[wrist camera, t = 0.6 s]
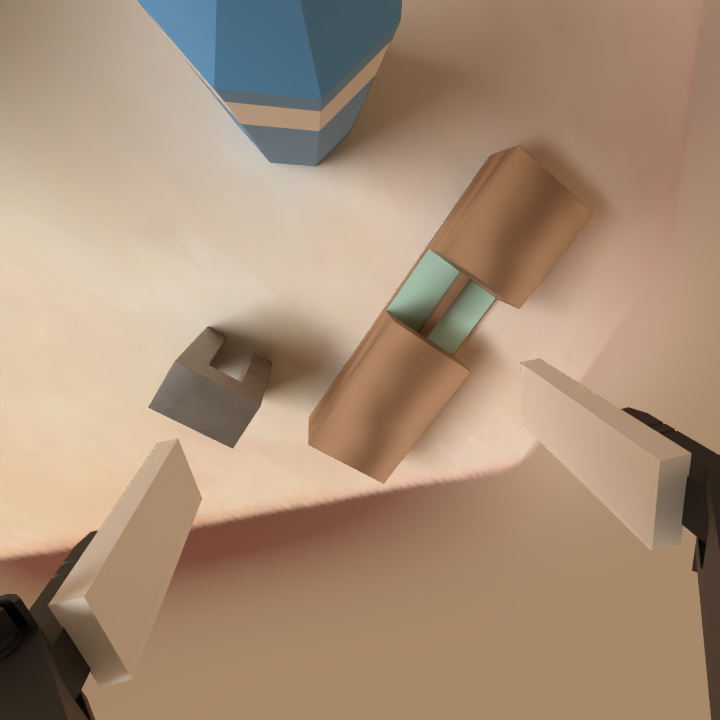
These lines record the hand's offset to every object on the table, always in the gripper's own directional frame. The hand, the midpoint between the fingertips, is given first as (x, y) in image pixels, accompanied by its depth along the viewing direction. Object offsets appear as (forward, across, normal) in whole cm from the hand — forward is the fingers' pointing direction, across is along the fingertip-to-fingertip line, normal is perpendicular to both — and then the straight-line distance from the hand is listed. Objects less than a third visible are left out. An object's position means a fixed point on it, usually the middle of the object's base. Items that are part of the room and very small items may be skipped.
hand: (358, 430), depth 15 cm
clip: (+22, -10, -3) cm, 24 cm away
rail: (+22, +8, -3) cm, 24 cm away
